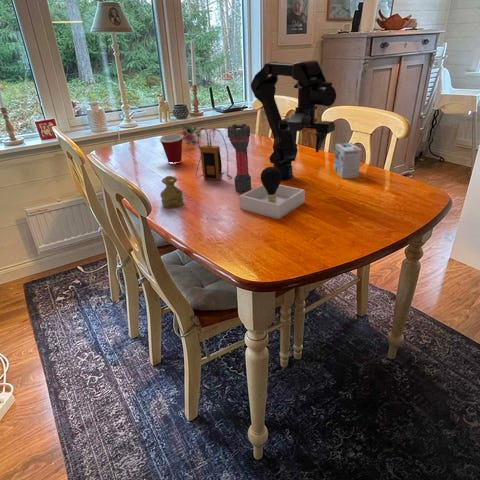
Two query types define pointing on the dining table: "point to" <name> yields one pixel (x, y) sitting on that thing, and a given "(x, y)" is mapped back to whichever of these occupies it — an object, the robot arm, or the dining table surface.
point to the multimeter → (211, 160)
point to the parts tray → (284, 203)
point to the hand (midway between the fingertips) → (305, 150)
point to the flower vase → (189, 134)
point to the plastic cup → (172, 147)
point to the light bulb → (271, 182)
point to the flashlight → (240, 155)
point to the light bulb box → (347, 160)
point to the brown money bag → (171, 194)
